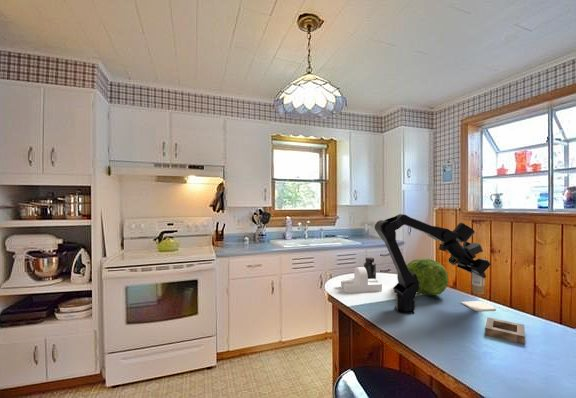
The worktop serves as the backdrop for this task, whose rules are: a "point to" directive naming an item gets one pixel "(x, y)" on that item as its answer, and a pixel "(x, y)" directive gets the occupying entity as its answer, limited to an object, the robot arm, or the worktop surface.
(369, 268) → the supplement bottle
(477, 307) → the pad
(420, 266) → the lettuce
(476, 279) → the sprinkles bottle
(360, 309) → the worktop surface
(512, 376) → the worktop surface
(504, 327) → the socket block
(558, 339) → the worktop surface
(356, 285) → the bracket
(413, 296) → the robot arm
